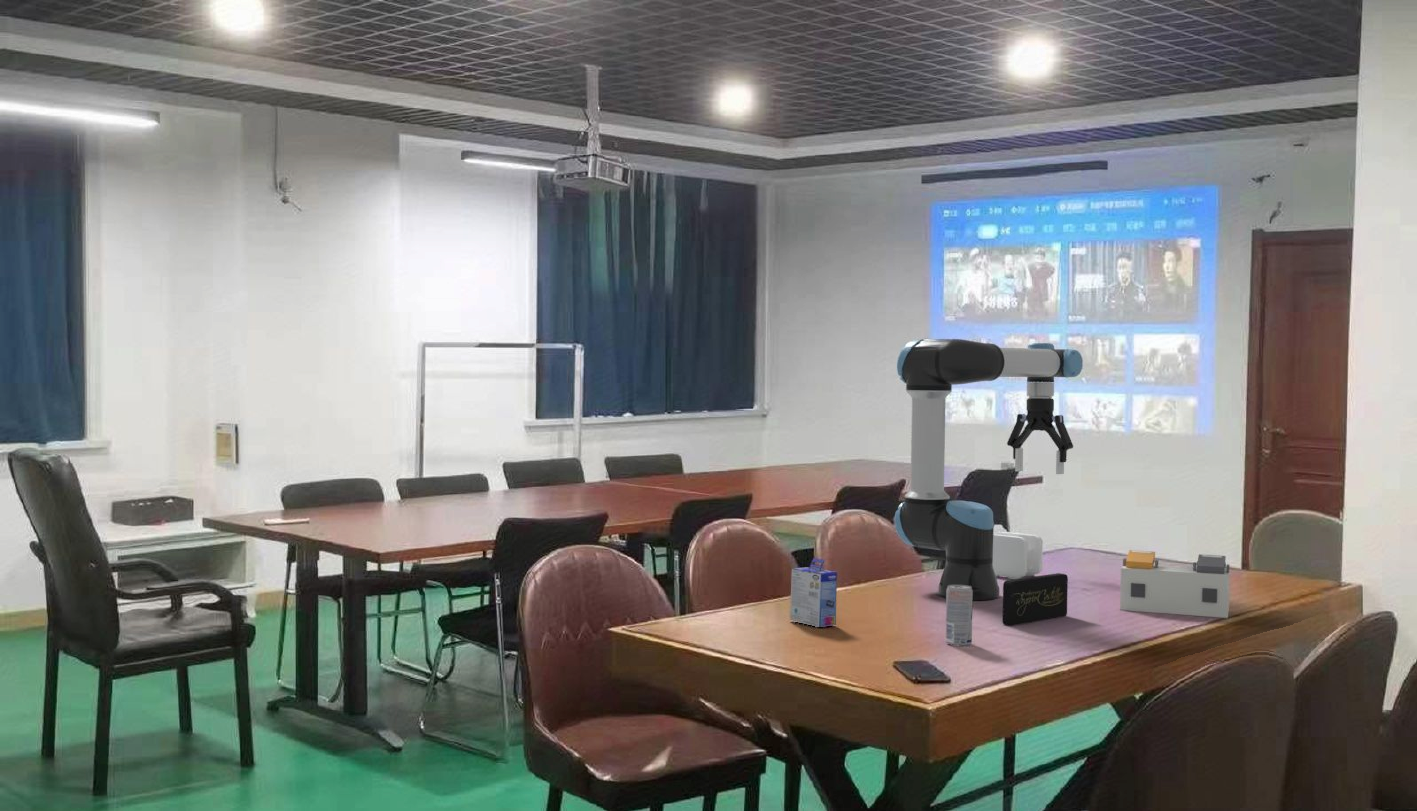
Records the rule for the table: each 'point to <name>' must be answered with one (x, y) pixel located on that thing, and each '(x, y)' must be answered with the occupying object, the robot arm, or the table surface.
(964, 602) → the energy drink
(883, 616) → the table surface
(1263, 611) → the table surface
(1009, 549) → the cable organizer
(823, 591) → the ink cartridge box
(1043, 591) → the nameplate
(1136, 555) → the rocker orange
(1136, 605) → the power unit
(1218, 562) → the rocker charcoal
